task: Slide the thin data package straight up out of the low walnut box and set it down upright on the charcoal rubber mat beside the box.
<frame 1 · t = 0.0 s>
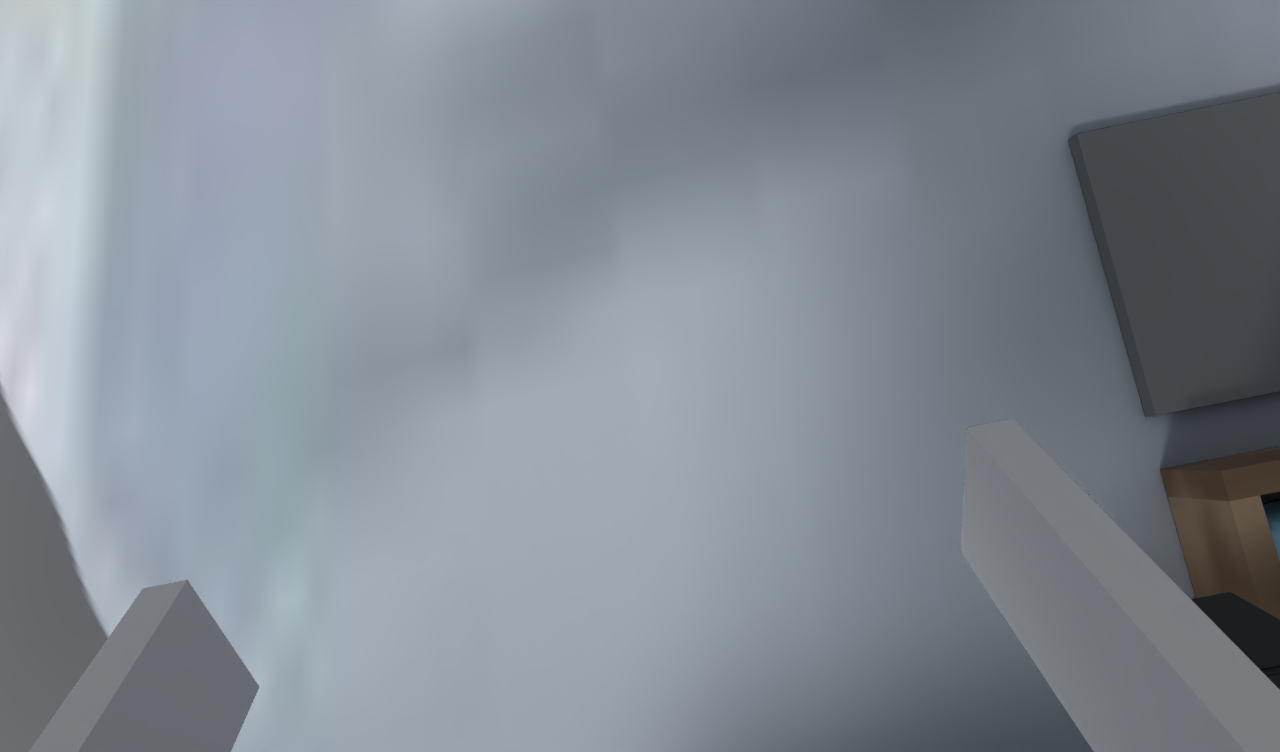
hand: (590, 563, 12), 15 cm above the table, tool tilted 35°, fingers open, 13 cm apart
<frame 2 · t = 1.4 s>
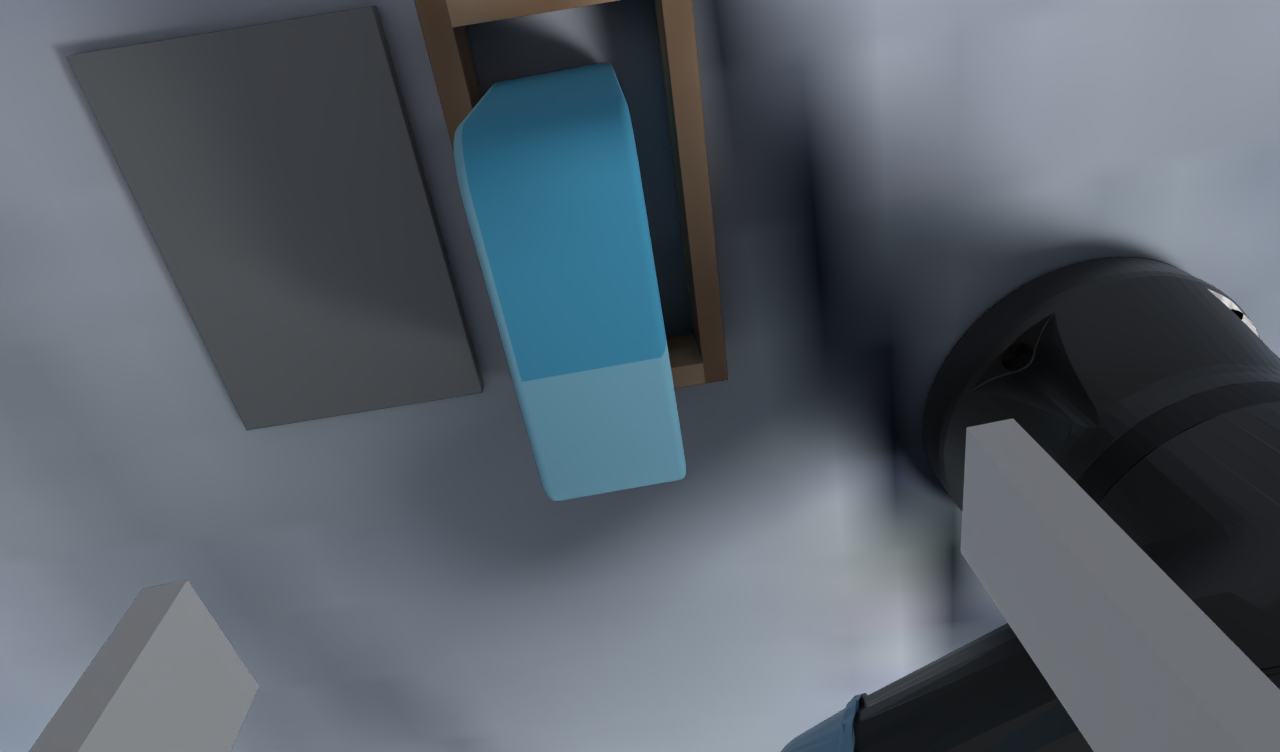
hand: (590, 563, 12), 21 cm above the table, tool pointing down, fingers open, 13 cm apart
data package: (582, 218, 31), resting in walnut box
charcoal mat: (305, 241, 30), on the table
walnut box: (591, 195, 30), on the table
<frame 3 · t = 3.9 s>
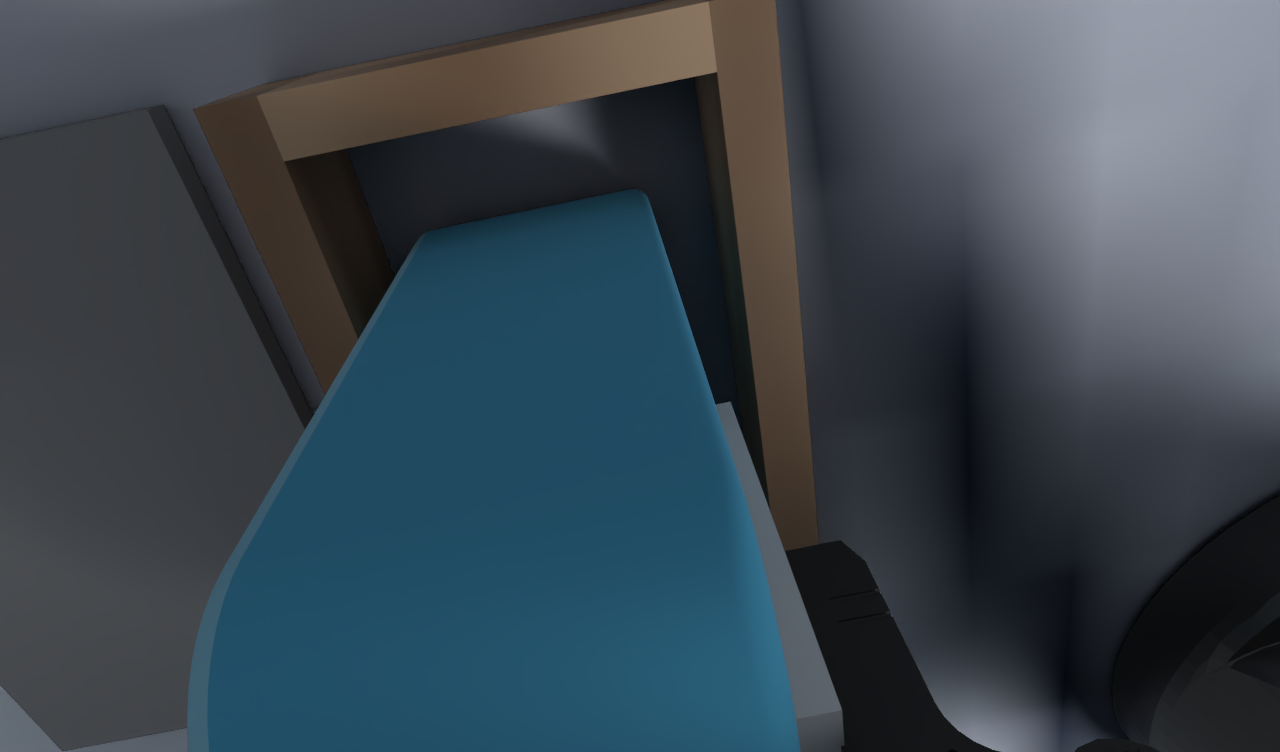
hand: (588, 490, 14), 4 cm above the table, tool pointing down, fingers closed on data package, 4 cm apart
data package: (594, 423, 18), resting in walnut box, touching gripper
charcoal mat: (109, 489, 18), on the table
walnut box: (590, 394, 18), on the table
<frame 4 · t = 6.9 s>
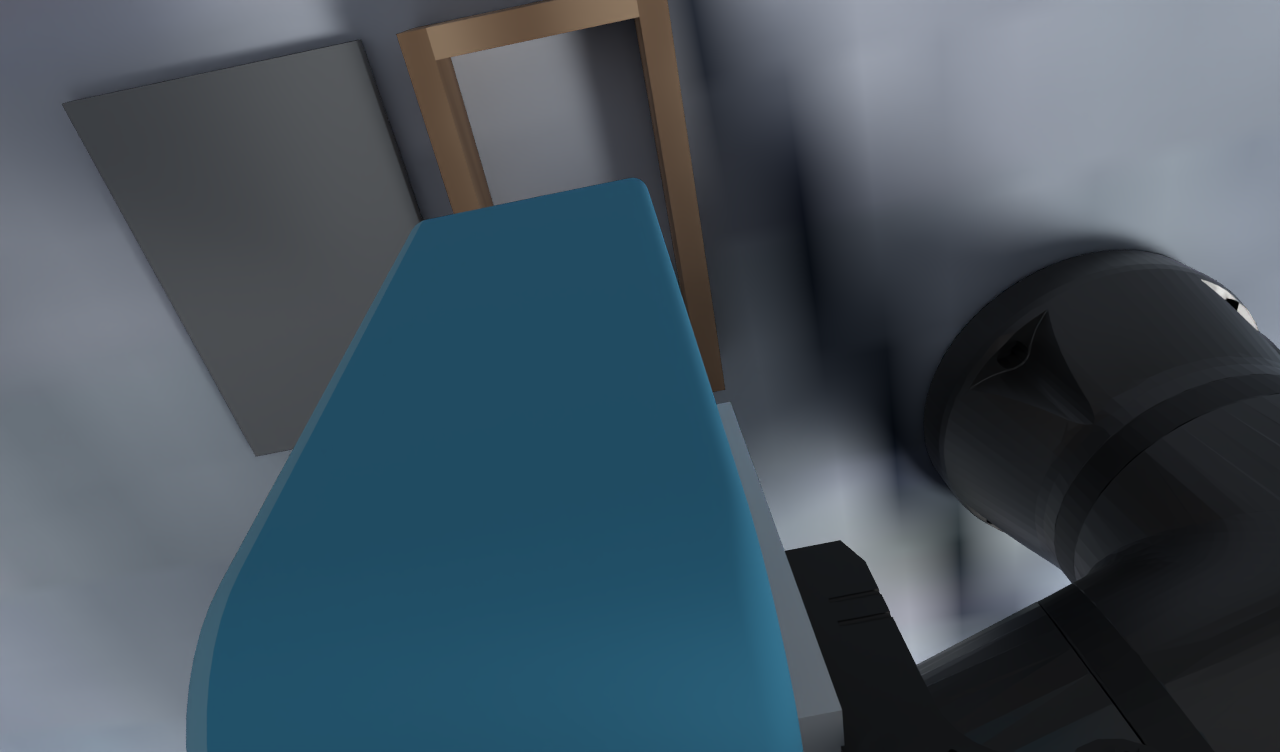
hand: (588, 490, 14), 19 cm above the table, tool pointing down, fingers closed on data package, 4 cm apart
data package: (591, 412, 18), point 15 cm above the table, touching gripper
charcoal mat: (304, 271, 31), on the table
walnut box: (582, 213, 30), on the table
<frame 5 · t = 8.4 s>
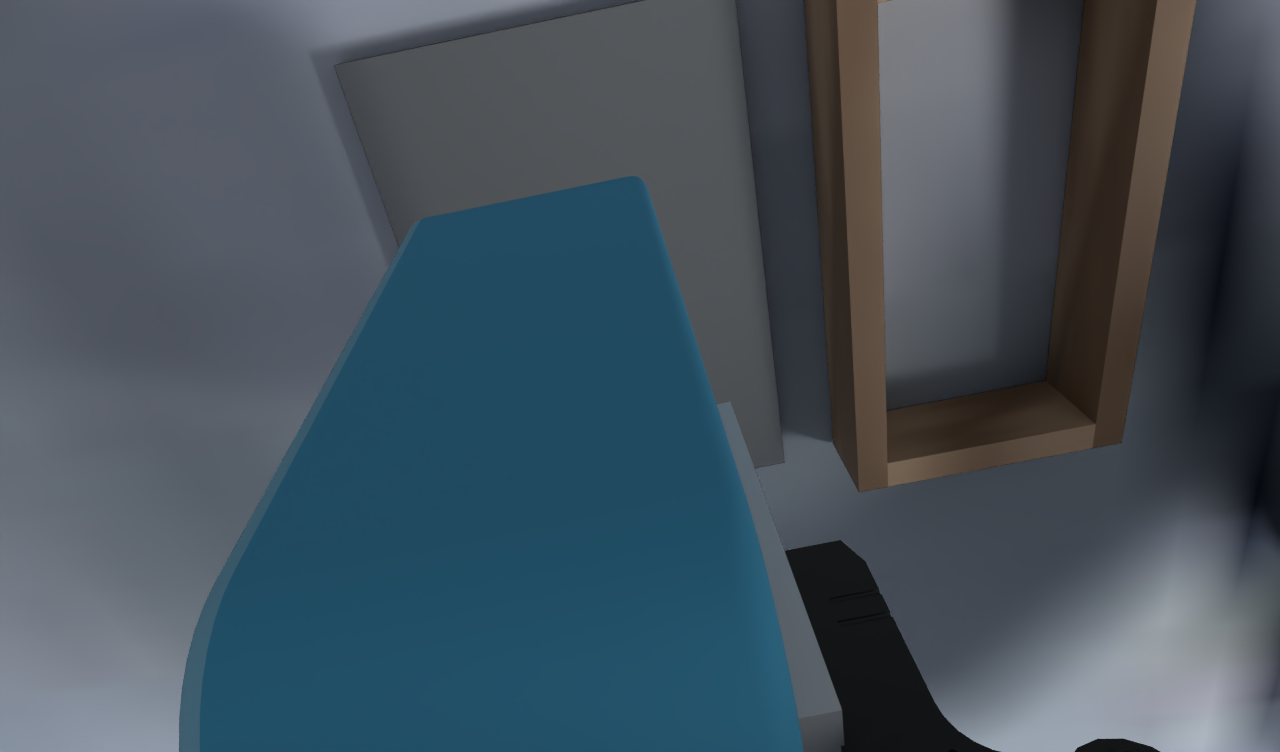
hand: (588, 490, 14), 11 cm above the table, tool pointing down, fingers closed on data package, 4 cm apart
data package: (591, 411, 18), point 7 cm above the table, touching gripper
charcoal mat: (594, 288, 24), on the table
walnut box: (956, 216, 24), on the table
when the fingers open (5 cm above the table, at t = 9.8 s): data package drops 1 cm, resting on charcoal mat.
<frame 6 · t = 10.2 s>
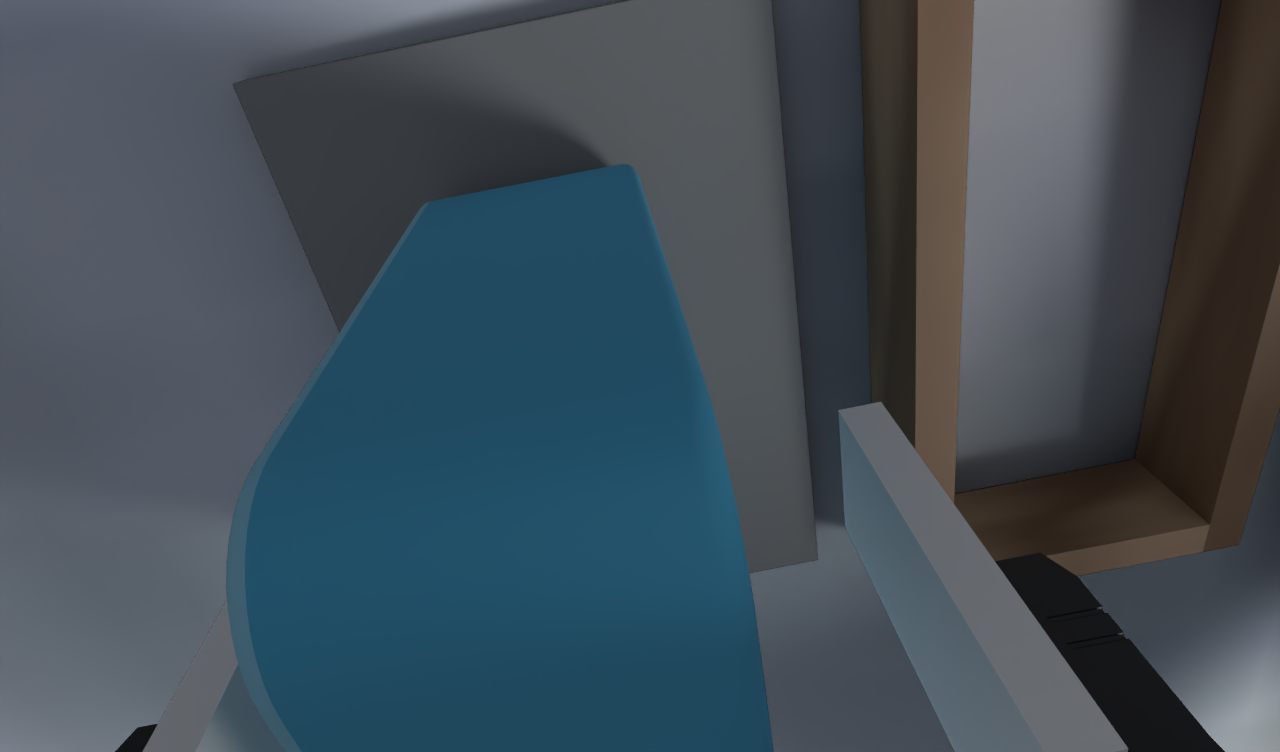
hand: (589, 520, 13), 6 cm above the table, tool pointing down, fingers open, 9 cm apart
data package: (585, 392, 19), resting on charcoal mat
charcoal mat: (585, 359, 19), on the table
walnut box: (1040, 268, 19), on the table
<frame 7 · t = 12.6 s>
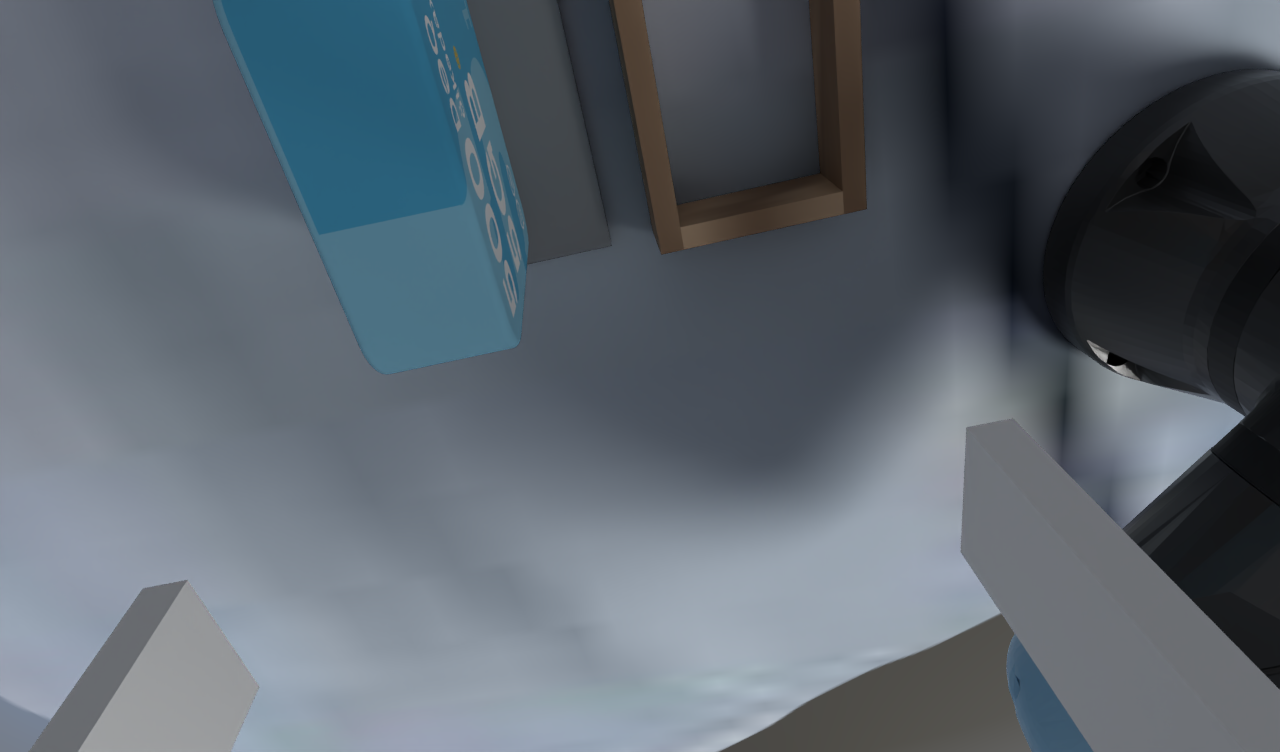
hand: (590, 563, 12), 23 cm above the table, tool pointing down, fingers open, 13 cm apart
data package: (440, 108, 30), resting on charcoal mat
charcoal mat: (438, 87, 30), on the table
walnut box: (725, 23, 30), on the table
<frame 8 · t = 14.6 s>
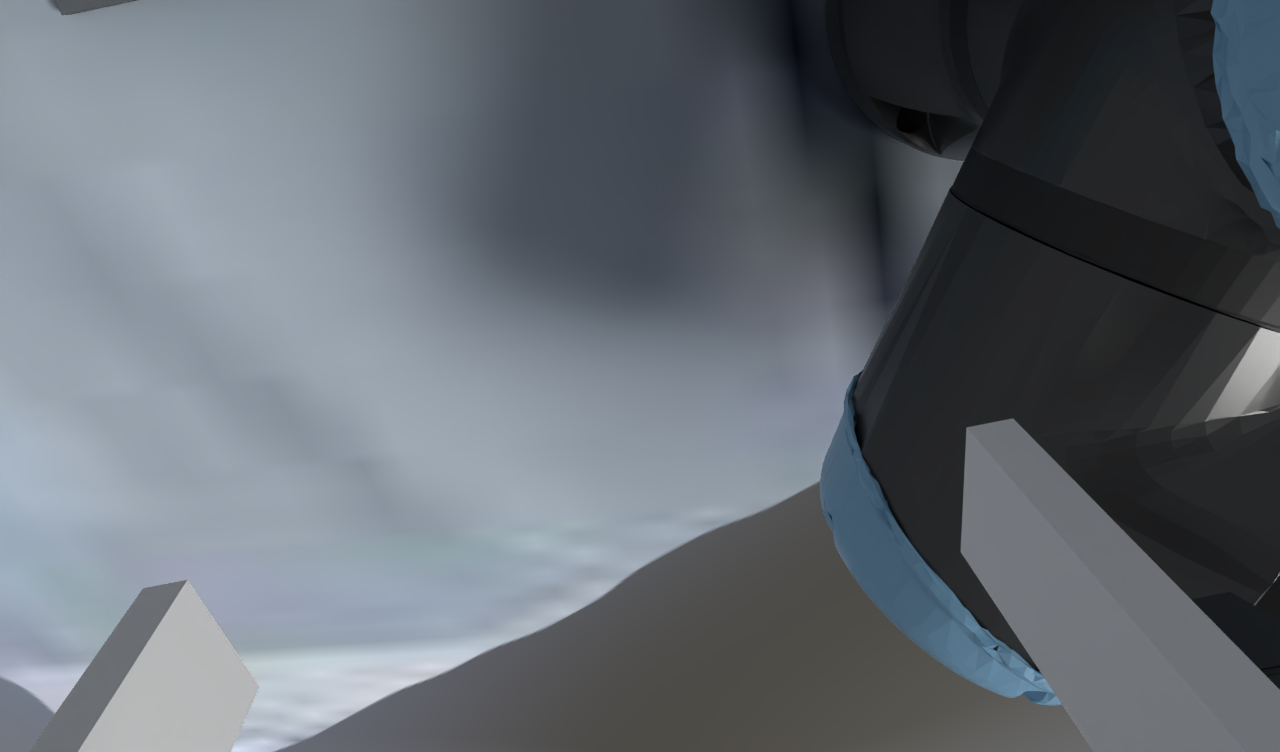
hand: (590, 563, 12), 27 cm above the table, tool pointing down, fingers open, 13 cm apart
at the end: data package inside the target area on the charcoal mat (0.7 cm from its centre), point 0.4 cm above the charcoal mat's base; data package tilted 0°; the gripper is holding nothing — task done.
